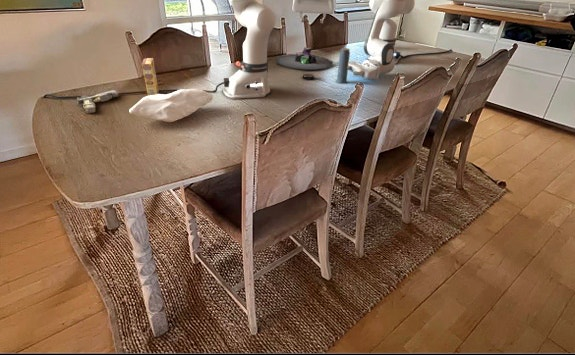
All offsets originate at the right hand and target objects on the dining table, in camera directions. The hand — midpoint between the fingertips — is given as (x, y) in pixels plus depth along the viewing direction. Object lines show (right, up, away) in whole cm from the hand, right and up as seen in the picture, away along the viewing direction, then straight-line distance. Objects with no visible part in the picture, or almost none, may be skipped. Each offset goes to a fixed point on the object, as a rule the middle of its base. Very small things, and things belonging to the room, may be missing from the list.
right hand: (348, 71), depth 193 cm
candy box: (-94, -18, -26) cm, 99 cm away
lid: (-21, -2, +3) cm, 21 cm away
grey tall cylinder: (-4, -5, +1) cm, 7 cm away
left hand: (-20, +21, -11) cm, 31 cm away
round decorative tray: (-23, +14, +29) cm, 39 cm away
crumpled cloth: (-80, -30, -43) cm, 96 cm away
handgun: (-112, -25, -37) cm, 121 cm away
